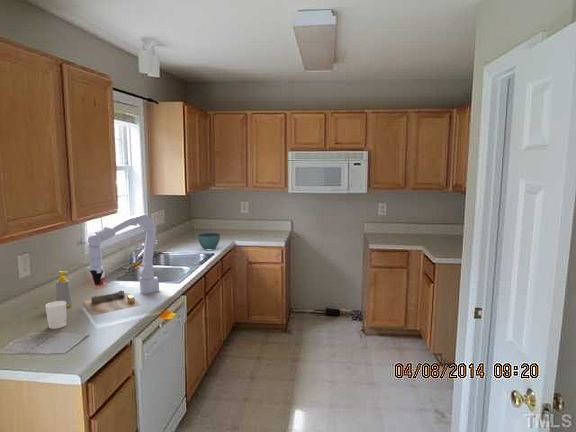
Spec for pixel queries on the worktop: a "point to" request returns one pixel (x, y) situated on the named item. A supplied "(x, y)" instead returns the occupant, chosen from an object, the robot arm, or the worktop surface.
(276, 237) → the worktop surface
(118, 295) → the swing bar
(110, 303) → the latch board
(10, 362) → the worktop surface
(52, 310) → the white cup
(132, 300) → the light wood small block
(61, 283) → the soap bottle
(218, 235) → the plant pot
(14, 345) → the worktop surface
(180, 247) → the worktop surface
